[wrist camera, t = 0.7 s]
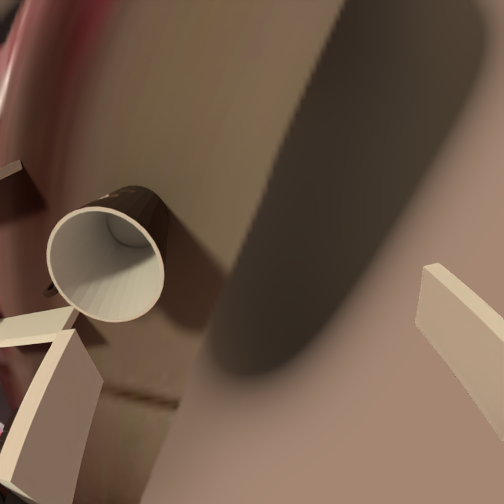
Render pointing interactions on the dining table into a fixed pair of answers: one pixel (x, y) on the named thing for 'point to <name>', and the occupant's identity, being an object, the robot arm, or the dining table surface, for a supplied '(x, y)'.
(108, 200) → the dark brown mug
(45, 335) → the cream u-shaped bracket
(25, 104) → the dining table surface
